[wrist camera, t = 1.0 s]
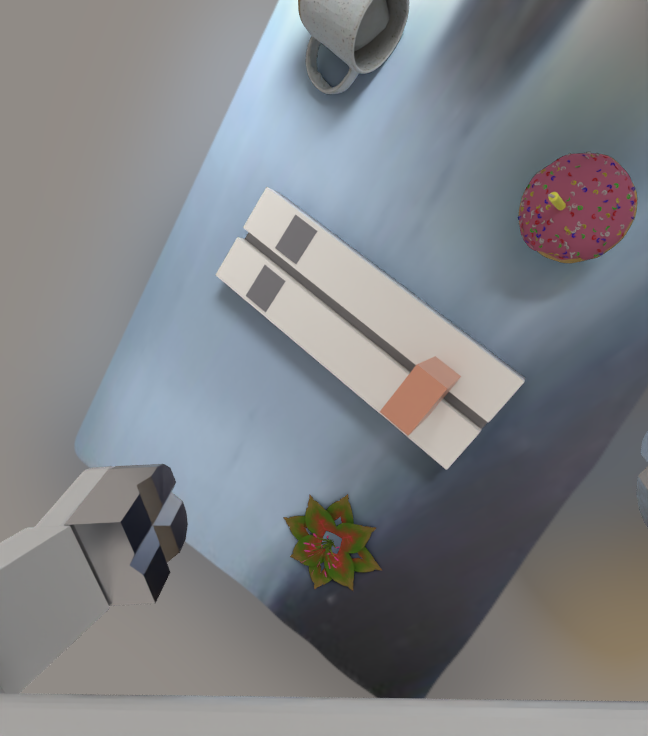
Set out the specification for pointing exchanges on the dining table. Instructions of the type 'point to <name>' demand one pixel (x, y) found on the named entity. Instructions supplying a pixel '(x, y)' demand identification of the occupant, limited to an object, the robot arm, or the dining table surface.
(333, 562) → the lily flower
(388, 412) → the fader
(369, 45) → the ceramic mug
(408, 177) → the dining table surface
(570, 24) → the dining table surface
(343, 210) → the dining table surface
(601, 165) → the cupcake
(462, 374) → the white slider track base
